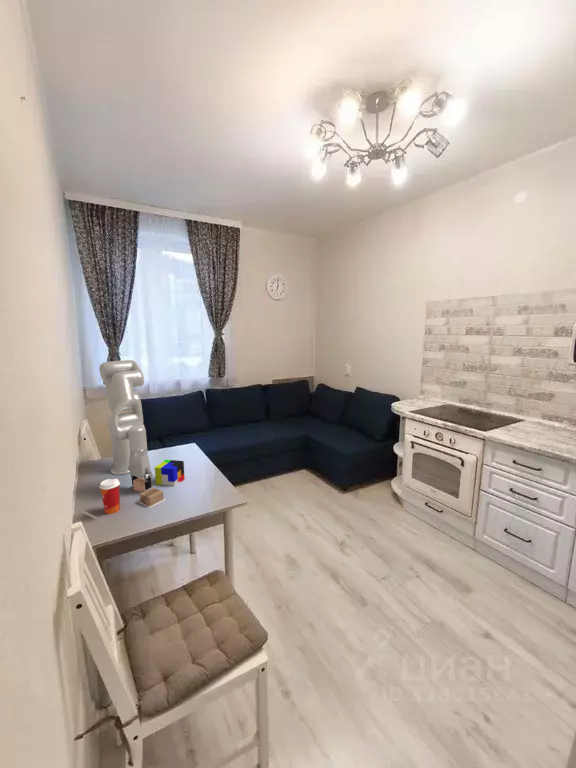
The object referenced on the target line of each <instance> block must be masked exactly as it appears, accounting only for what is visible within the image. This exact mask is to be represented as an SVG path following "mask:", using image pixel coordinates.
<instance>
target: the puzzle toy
mask: <svg viewBox="0 0 576 768" xmlns="http://www.w3.org/2000/svg"><path fill="white" fill-rule="evenodd" d="M184 462H185V461H184V460H176V459H175V460H173V459H164V460H163V461H162V462H161V463H159V464H158V465H156V466H155V467H154V475H155V485H158V486H159V485H160V486H168V487H169V486H171V487H175V486H177V484H179V483H180V482H181V483H182V482H183V481H184V480H185V478H186V477H185V464H184Z"/></svg>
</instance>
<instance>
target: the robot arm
mask: <svg viewBox="0 0 576 768" xmlns="http://www.w3.org/2000/svg"><path fill="white" fill-rule="evenodd" d="M99 375H100V377H101V379H102V382H103V383H104V387H105V389H106V391H105V392H106V398H107V405H108V408H109V410H110V411H111V412H112V413H111V414H110V416H109V417H108V419H107V421H106V422H107V427H108V430H109V435H110V441H111V451H112V452H111V453H112V460H113V461H111V465H113V467H112V468H111V469H110V472H111V474H113V475H117V476H118V475H120V476H121V475H122V476H123V475H127V474H129V475H130V477H131V485H132V486H134V485H133V480H135V479H137V478H144V480H145V481H146V482H145V490H144V491H147V490H149V489H151V488H153V487H152V480H153V478H154V472H153V471H152V470H151V464H150V460H149V459H150V458H149V455H148V454H149V453H148V443H147V441H148V440H147V430H146V427H145V424H144V415H143V414H144V413H143V407H142V400H141V395H140V394H139V393H138V392H137V391H134V388H135V387H136V388H137V387H143V385H144V383H145V378H144V374H143V372H142V370H141V368H140V366H139V365H138V363H137V362H136V361H135V360H132V359H127V360H126V359H125V360H113V361H111V360H110V361H105V362H102V363H100V365H99ZM130 410H131V411H130ZM124 411H129V412H124ZM123 412H124V413H123Z"/></svg>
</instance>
